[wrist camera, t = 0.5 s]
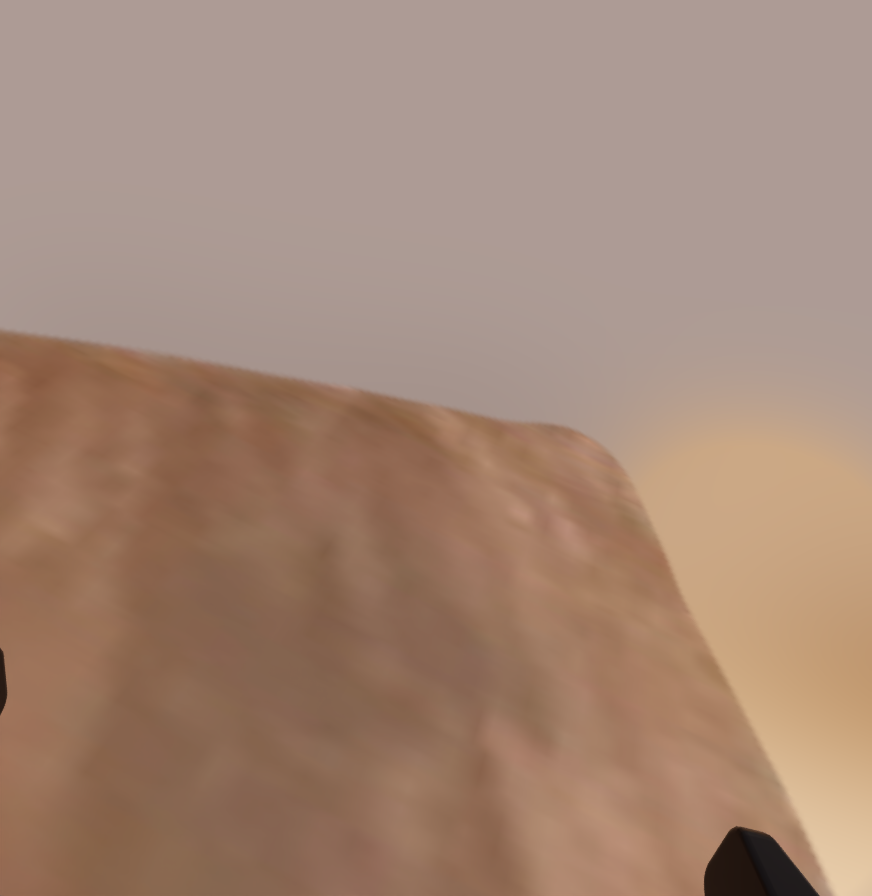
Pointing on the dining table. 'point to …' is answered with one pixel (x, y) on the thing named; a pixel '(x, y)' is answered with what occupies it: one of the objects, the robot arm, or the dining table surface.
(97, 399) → the dining table surface
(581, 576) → the dining table surface
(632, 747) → the dining table surface
